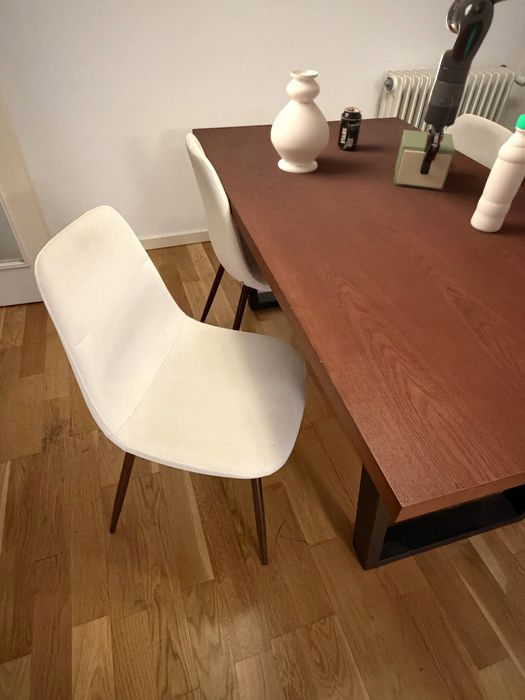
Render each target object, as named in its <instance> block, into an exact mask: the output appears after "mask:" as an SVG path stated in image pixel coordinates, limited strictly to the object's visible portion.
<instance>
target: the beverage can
mask: <svg viewBox="0 0 525 700" xmlns="http://www.w3.org/2000/svg"><path fill="white" fill-rule="evenodd" d="M361 112H362V109H361V108H359V107H355V106H354V107H353V106H347V107H344V108H343V112H341V115H340V121H339V129H338V137H337V144H336V145H337V147H338V148H339V149H340V150H342V151H353V150H354V149H356V148H357V147H358V142H359V136H360V131H361V124H362V118H363V114H362V113H361Z"/></svg>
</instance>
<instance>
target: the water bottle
mask: <svg viewBox="0 0 525 700" xmlns="http://www.w3.org/2000/svg"><path fill="white" fill-rule="evenodd" d="M524 179H525V113H523V114H520V116H518V119H517V121H516V124H515V132H514V133H513V134H512V135H511V136H510V137H509V138H508V140H507V141H505V143H504V144H502V146H501V147H500V148H499V150H498V154H497V158H496V159H495V162H494V164H493V166H492V167H491V170H490V173H489V176H488V177H487V181H486V183H485V186H484V188H483V192H482V194H481V196H480V198H479V200H478V202H477V205H476V209H475V211H474V212H473V215H472V217H471V219H470V225H471V226H472V227H473V228H474V229H475V230H477V231H480V232H483V233H495V232H497V231H499V230H500V229H501V228H502V226H503V223H504V221H505V218H506V215H507V214H508V212H509V211H510V209H511V206H512V202H513V200H514V198H515V197H516V195H517V193H518V191H519V189H520V187H521V185H522V182H523V181H524Z"/></svg>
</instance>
